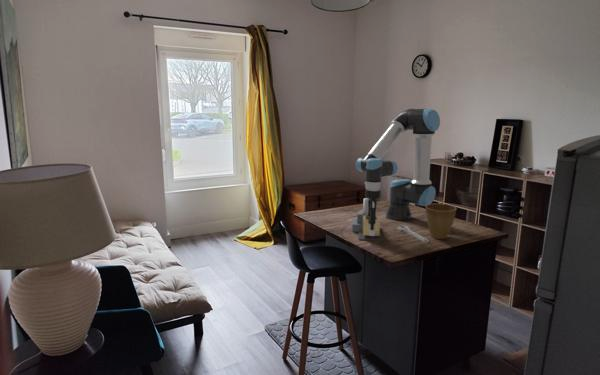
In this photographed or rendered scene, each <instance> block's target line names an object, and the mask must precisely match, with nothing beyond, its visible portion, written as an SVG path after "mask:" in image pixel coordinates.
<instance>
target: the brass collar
mask: <svg viewBox="0 0 600 375" xmlns="http://www.w3.org/2000/svg"><path fill="white" fill-rule="evenodd" d="M368 222H370V216H363V227H362V231H363V235H369V224H368ZM375 222H376V223H375V232H374V236H379V234H380V233H381V219H380V216H379V215H376V218H375Z"/></svg>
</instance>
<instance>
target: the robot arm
mask: <svg viewBox="0 0 600 375" xmlns="http://www.w3.org/2000/svg"><path fill="white" fill-rule="evenodd" d="M440 125H441V118H440V114H439V113H438V111H437V110H436V109H432V108H431V109H430V108H407V109H405V110H403V111H402V112H400V113H398V114H397V115H396V116H395V117H394V118H393V119H392V120H391V121H390V123H389V127H388V128H387V129H386V130H385V131H384V133H383V134H382V135H381V137H380V138H379V139H378V140H377V141H376V143H375V144H374V145H373V146H372V148H371V149H370V150H369V151H368V152H367V154H366V155H365V157H359V158H358V159H357V160H356V161H355V168H356V170H357V171H358V172H361V173H365V182H364V186H365V191H364V192H365V193H364V196H365V198H368V199H369V200H368V216H370V222H368V224H369V236H374V232H375V223H376V222H375V218H376V216H377V215H376V213H377V212H376V211H377V205H378V202H377V200H376V199H380V198H381V190H382V189H381V188H382V178H383V177H387V176H389V177H390V176H393V175H395V174H396V173H397V171H398V170H399V169H398V168H399V167H398V164H397V163H396V161H394V160H383V159H382V158H383V157H384V156H385V155H386V154H387V152H388V151H389V150H390V148H391V147H392V146H393V144H394V143H395V142H396V141H397V140H398V138H399V137H400V136H401V135H403V134H404V133H405V132H406V131H409V130H410V131H412V135H414V139H415V140H414V157H413V158H414V160H413V177H412V179H408V178H405V179H404V178H403V179H394V180H391V182H390V187H389V188H390V189H389V190H390V191H389V192H390V193H389V203H388V204H389V205H388V208H387V210H386V212H385V217H386V218H387V219H390V220H394V221H395V220H396V221H409V220H411V219H412V211H411V207H410V204H414V205H418V206H422V207H423V206H424V207H425V206H426V205H428V204H433V201H434V199H435V197H436V193H437V191H436V188H435V187H434V186H433V185H432V184H433V183H432V181H431V180H430V173H431V172H430V170H431V154H432V151H431V150H432V137H433V136H434V135H435V133H436V132H437V131H438V130H439V128H440Z"/></svg>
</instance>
